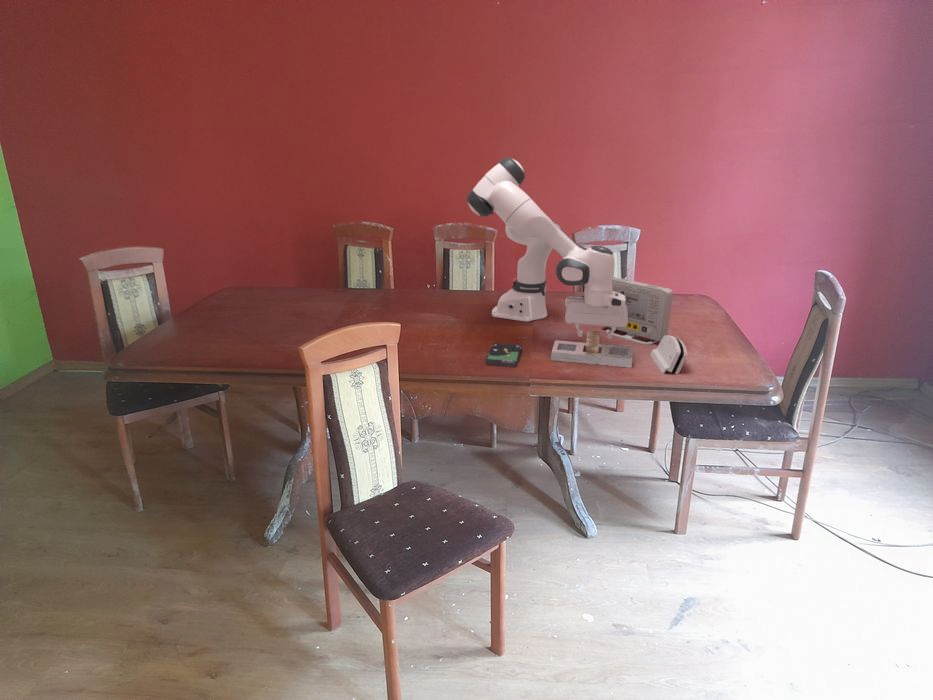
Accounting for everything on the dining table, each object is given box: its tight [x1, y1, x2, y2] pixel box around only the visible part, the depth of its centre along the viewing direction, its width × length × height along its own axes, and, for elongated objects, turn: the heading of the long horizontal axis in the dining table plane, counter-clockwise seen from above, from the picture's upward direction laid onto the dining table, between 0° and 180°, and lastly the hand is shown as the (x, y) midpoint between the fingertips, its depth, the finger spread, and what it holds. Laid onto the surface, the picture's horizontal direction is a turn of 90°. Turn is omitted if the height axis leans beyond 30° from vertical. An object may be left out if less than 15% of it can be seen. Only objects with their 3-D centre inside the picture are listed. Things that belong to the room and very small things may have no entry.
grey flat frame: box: [550, 339, 634, 369], centre depth 200 cm, size 26×11×3 cm, turn 76°
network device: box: [605, 276, 674, 346], centre depth 216 cm, size 26×9×20 cm, turn 44°
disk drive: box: [485, 342, 523, 368], centre depth 201 cm, size 10×3×15 cm
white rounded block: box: [649, 335, 688, 375], centre depth 194 cm, size 17×5×10 cm, turn 178°
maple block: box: [585, 329, 601, 353], centre depth 199 cm, size 4×4×9 cm
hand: (594, 336), depth 198 cm, fingers open, 8 cm apart
